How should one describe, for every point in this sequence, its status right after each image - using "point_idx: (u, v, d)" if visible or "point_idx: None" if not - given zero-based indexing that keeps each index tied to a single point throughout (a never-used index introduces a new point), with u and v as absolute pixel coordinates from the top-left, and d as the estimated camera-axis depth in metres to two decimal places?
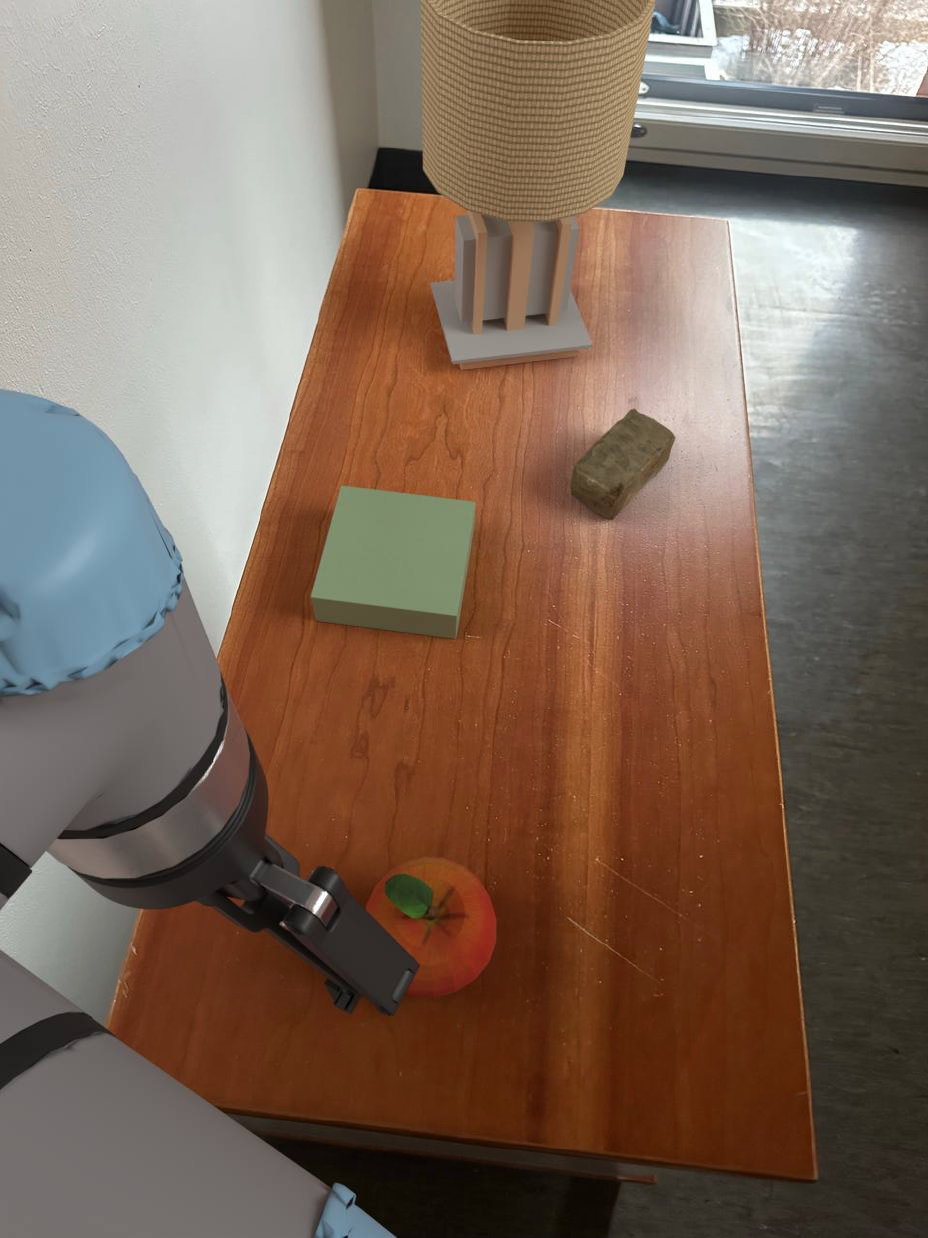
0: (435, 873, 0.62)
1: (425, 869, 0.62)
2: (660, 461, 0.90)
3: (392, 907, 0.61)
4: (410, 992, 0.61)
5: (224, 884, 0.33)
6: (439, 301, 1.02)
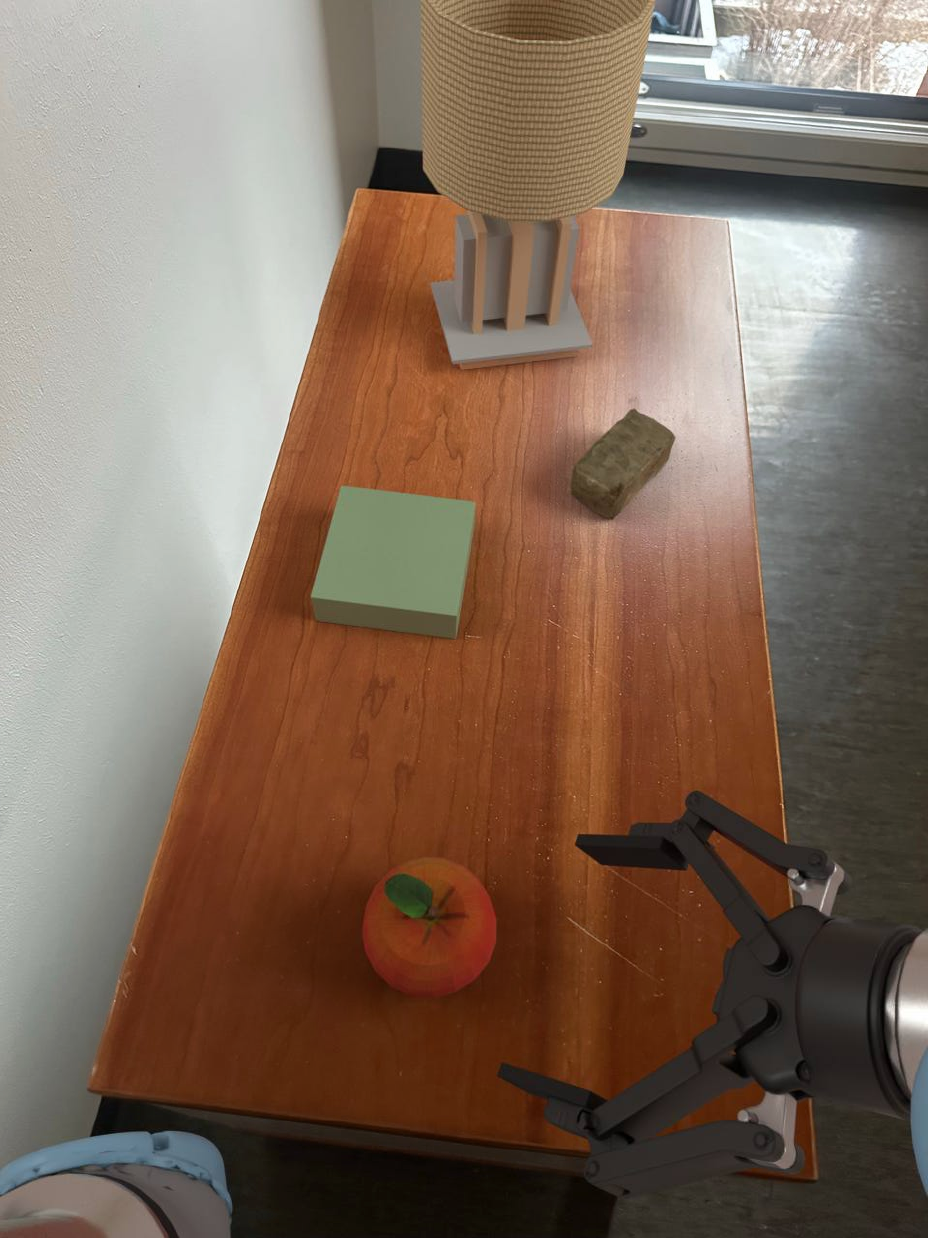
0: (435, 873, 0.62)
1: (424, 869, 0.62)
2: (660, 461, 0.90)
3: (392, 907, 0.61)
4: (410, 992, 0.61)
5: (816, 1081, 0.37)
6: (439, 301, 1.02)
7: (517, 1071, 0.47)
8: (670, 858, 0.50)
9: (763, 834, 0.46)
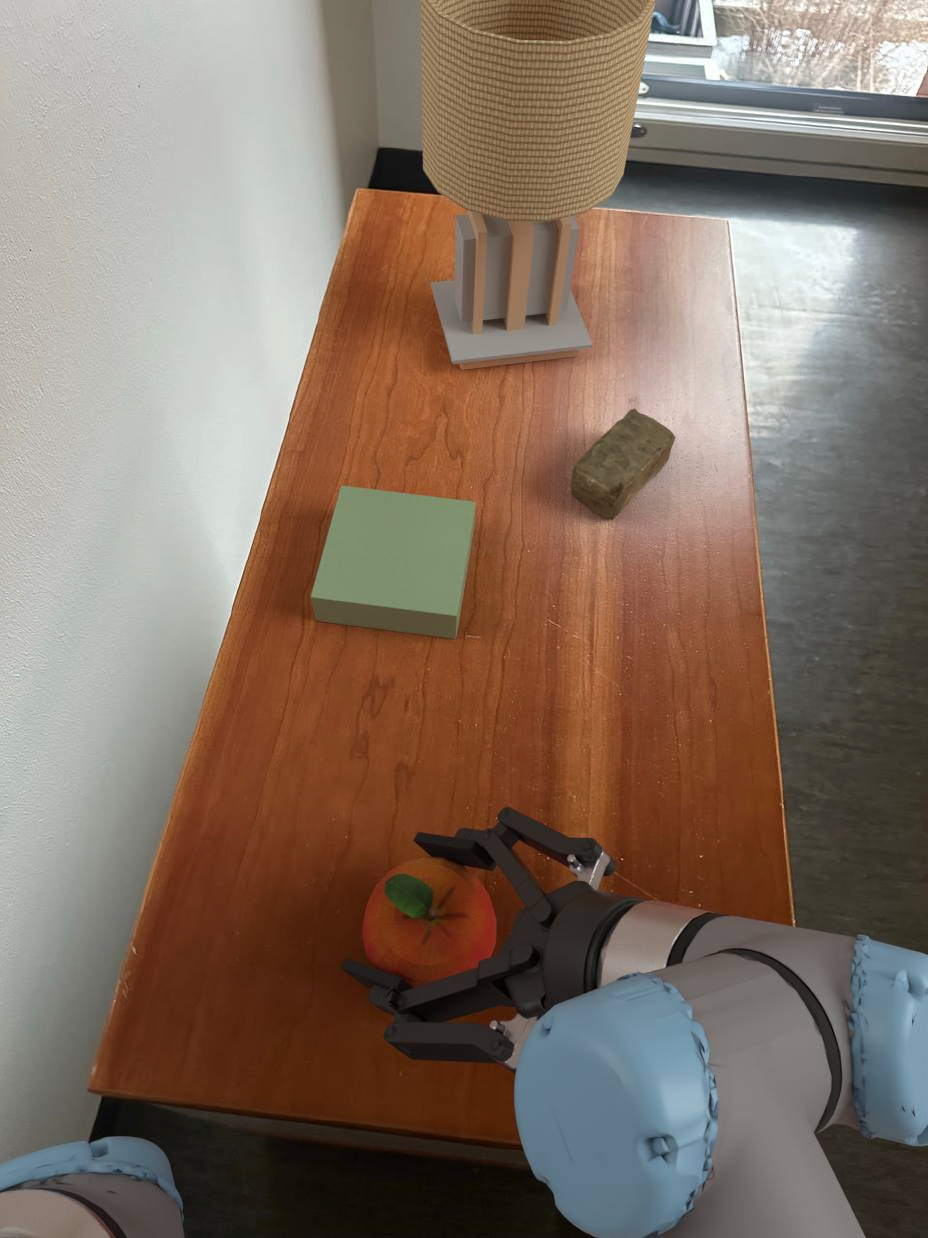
0: (435, 873, 0.62)
1: (425, 869, 0.62)
2: (660, 461, 0.90)
3: (392, 907, 0.61)
4: None
5: (551, 1007, 0.48)
6: (439, 301, 1.02)
7: (355, 964, 0.60)
8: (479, 859, 0.62)
9: (552, 833, 0.57)
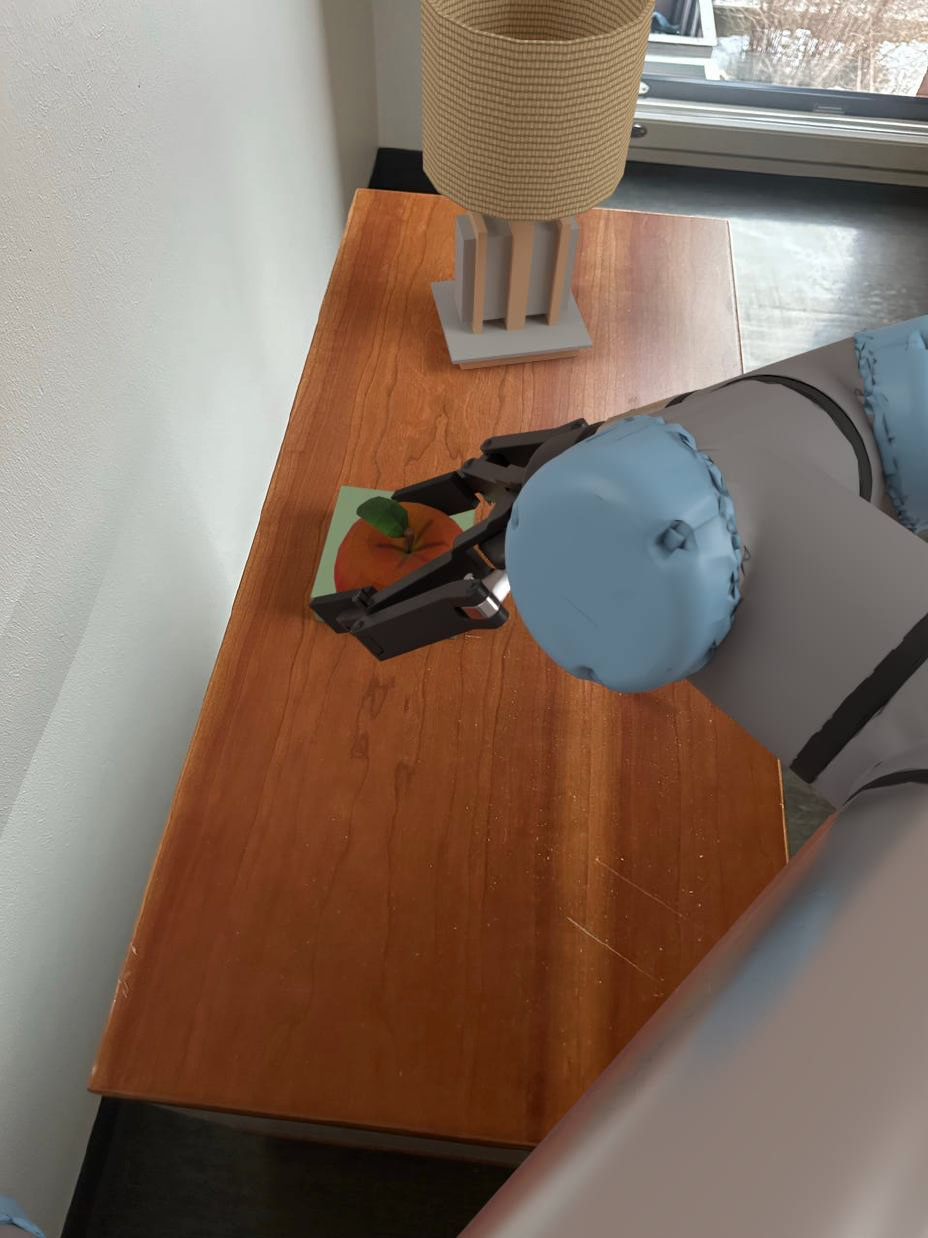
0: (412, 508, 0.57)
1: (401, 505, 0.57)
2: None
3: (365, 537, 0.56)
4: None
5: None
6: (439, 301, 1.02)
7: (324, 596, 0.56)
8: (460, 492, 0.57)
9: (538, 432, 0.52)
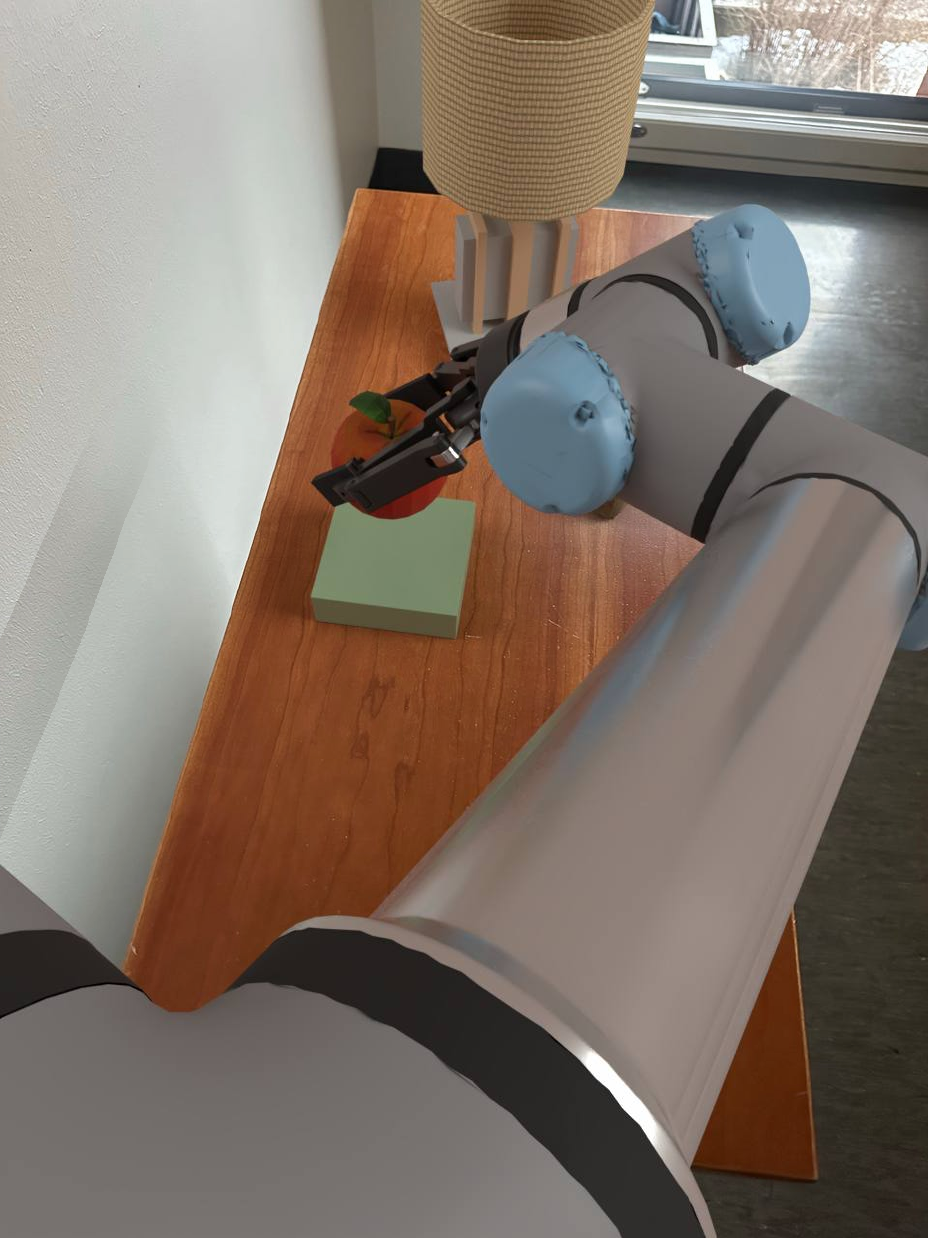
0: (395, 403, 0.70)
1: None
2: None
3: (356, 425, 0.69)
4: None
5: (482, 399, 0.56)
6: (439, 301, 1.02)
7: (323, 473, 0.69)
8: (433, 390, 0.70)
9: None
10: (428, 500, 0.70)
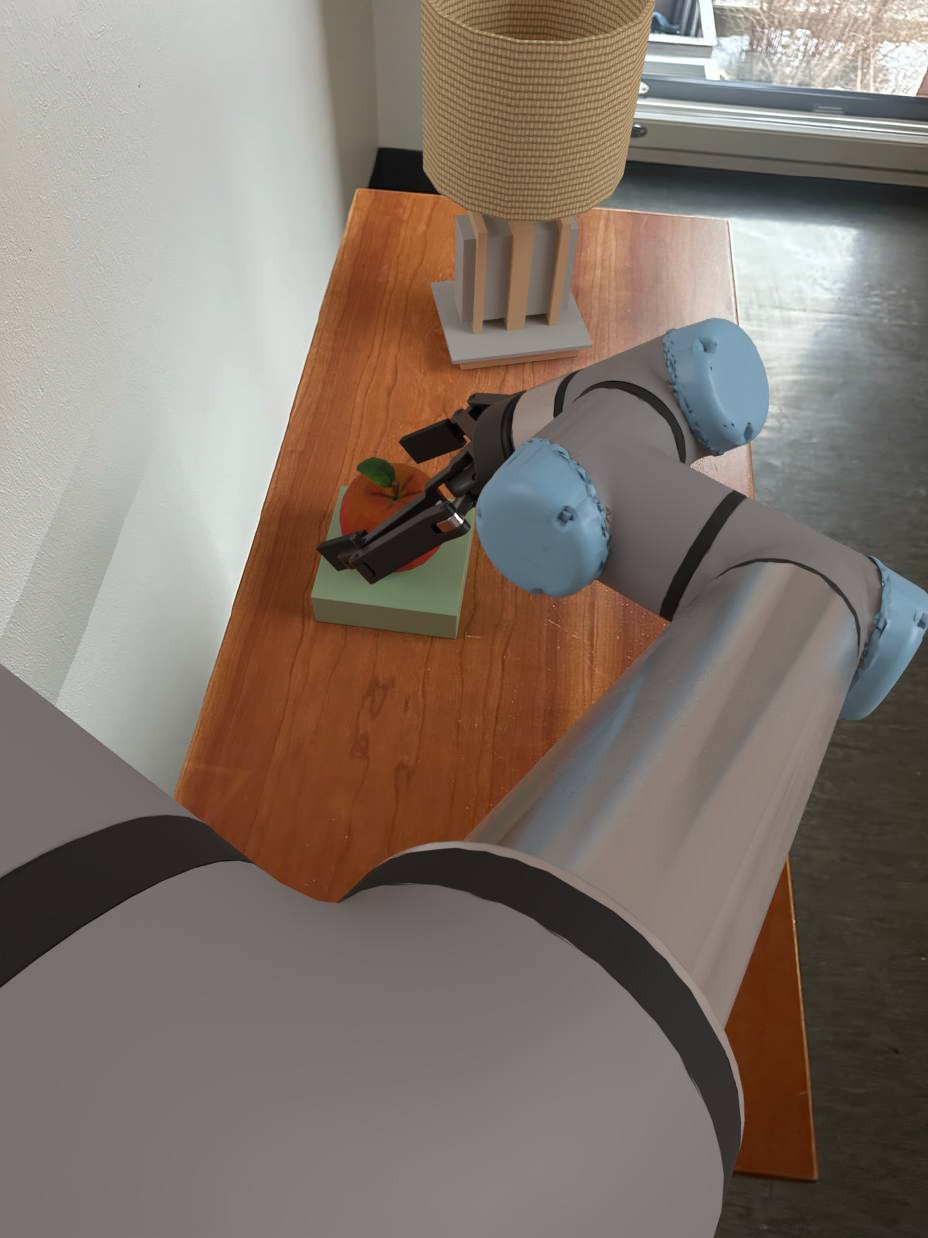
0: (398, 466, 0.76)
1: None
2: None
3: (363, 488, 0.75)
4: None
5: (478, 472, 0.62)
6: (439, 301, 1.02)
7: (328, 541, 0.73)
8: (452, 434, 0.76)
9: (500, 395, 0.71)
10: (429, 555, 0.77)
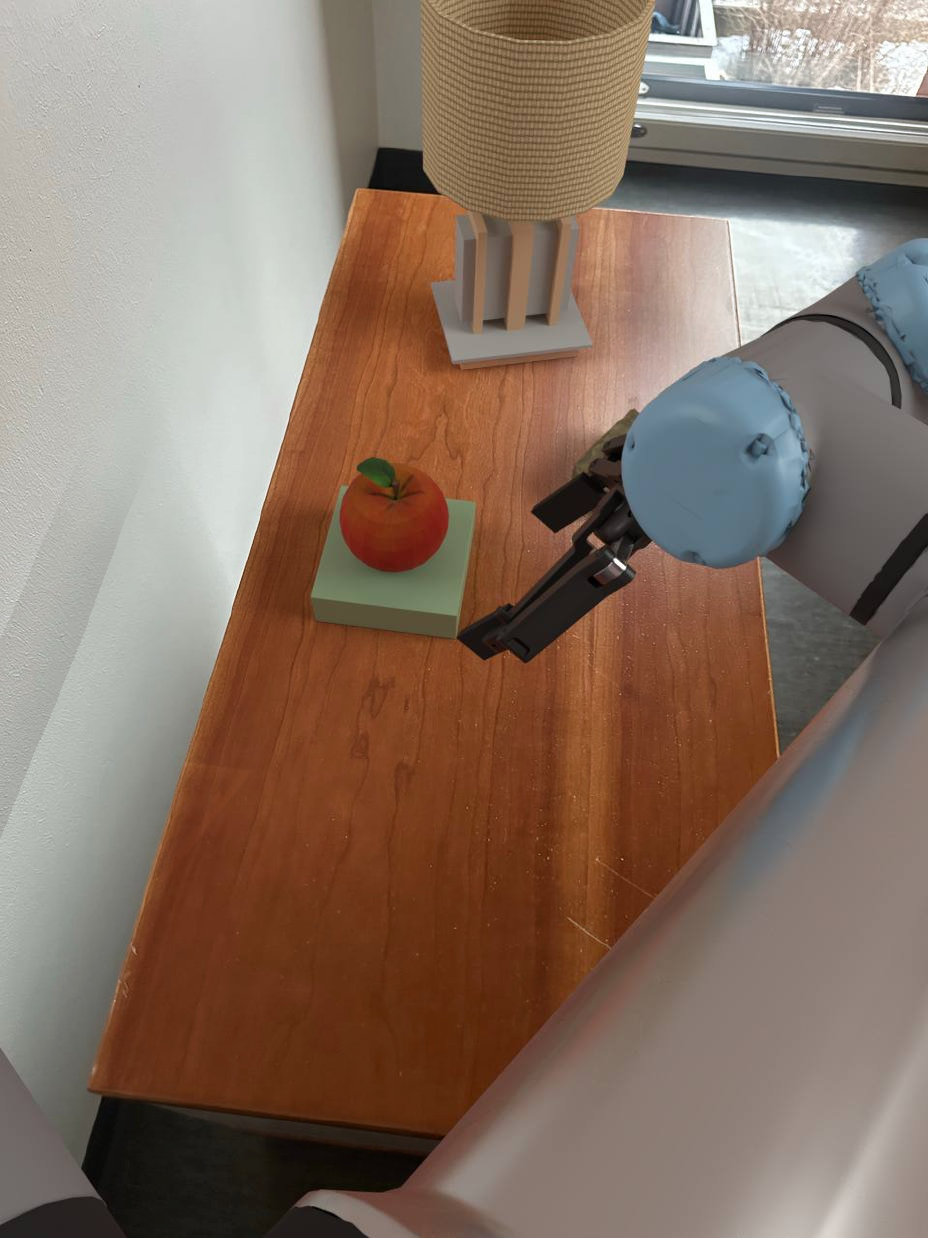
0: (398, 466, 0.76)
1: None
2: None
3: (363, 488, 0.75)
4: (377, 555, 0.75)
5: None
6: (439, 301, 1.02)
7: (468, 626, 0.63)
8: (590, 488, 0.67)
9: None
10: (429, 555, 0.77)
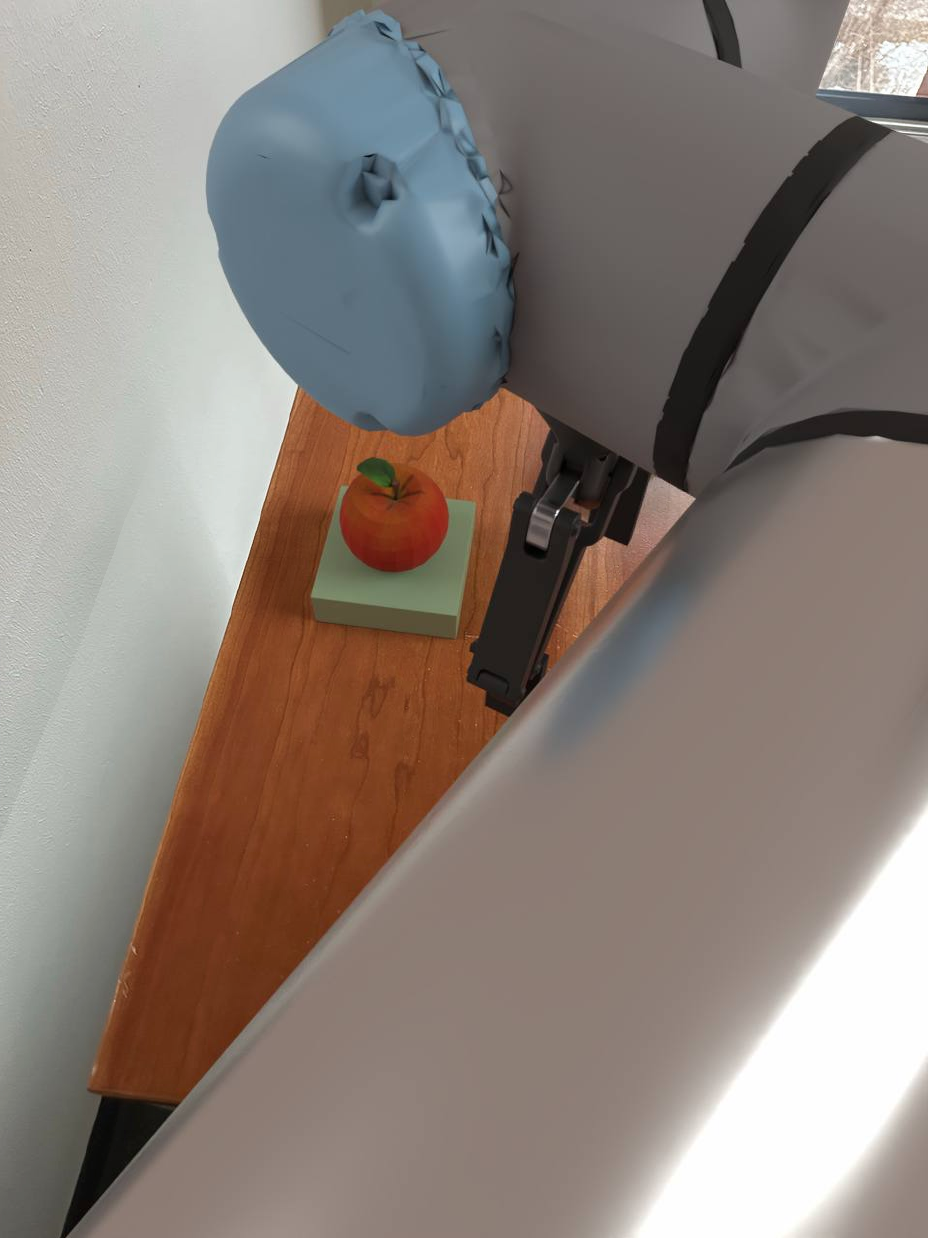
0: (398, 466, 0.76)
1: None
2: None
3: (363, 488, 0.75)
4: (377, 555, 0.75)
5: (549, 422, 0.34)
6: None
7: None
8: None
9: None
10: (429, 555, 0.77)
